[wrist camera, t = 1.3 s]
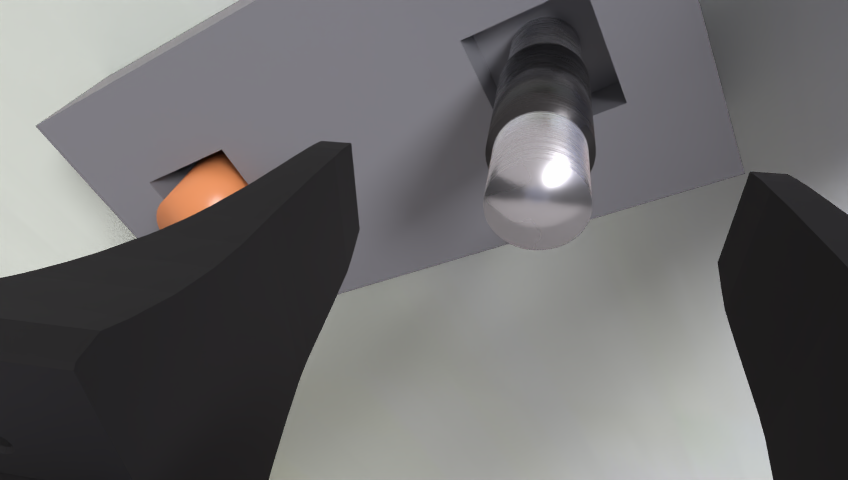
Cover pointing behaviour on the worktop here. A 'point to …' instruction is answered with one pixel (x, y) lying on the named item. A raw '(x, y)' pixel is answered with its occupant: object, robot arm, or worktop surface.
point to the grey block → (399, 111)
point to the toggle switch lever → (541, 140)
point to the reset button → (200, 189)
